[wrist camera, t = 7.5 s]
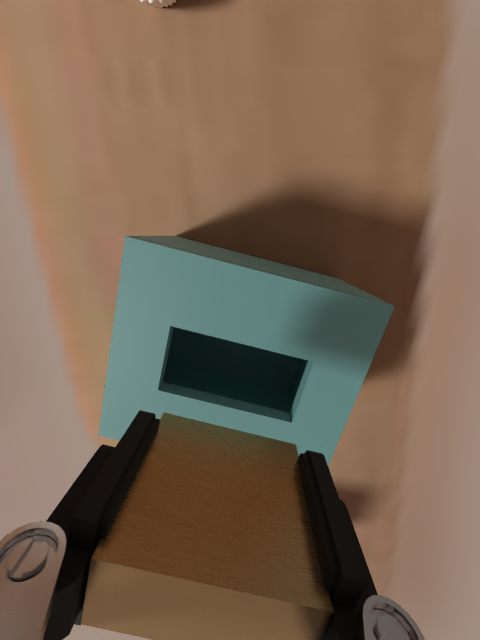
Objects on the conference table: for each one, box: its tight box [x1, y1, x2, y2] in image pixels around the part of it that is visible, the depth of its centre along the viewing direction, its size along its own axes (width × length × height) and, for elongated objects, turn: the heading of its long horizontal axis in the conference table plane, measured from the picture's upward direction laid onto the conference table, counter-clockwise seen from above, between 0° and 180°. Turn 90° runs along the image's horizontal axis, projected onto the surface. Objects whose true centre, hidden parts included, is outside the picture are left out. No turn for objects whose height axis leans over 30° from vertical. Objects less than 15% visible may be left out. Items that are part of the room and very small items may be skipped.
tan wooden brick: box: [81, 412, 333, 640], centre depth 8 cm, size 2×5×5 cm, turn 76°
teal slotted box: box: [99, 236, 395, 465], centre depth 21 cm, size 12×14×10 cm
